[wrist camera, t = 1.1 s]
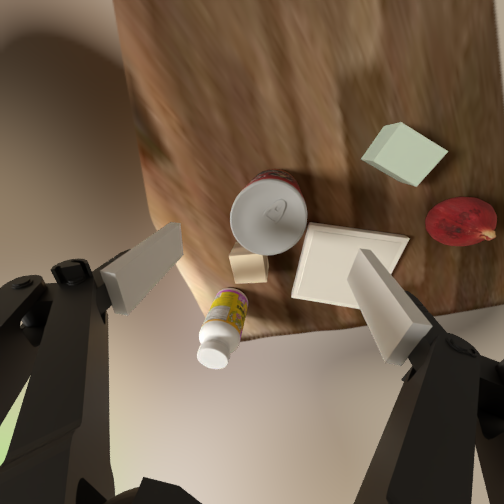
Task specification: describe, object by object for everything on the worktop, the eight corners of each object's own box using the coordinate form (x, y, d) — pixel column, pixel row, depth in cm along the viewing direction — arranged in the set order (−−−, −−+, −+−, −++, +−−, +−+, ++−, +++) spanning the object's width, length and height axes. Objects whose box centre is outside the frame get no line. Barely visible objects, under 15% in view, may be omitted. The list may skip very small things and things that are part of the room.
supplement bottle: (250, 312, 41) (237, 375, 29) (219, 311, 42) (195, 372, 30) (246, 286, 37) (231, 345, 26) (213, 285, 39) (184, 342, 27)
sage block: (383, 125, 24) (401, 122, 20) (424, 150, 24) (448, 151, 21) (360, 159, 26) (372, 161, 22) (398, 181, 26) (416, 186, 23)
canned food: (308, 178, 27) (322, 195, 18) (286, 229, 31) (287, 266, 22) (256, 159, 27) (241, 166, 17) (240, 213, 31) (221, 242, 21)
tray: (309, 222, 30) (310, 225, 29) (405, 235, 29) (410, 238, 28) (291, 293, 37) (291, 298, 36) (369, 306, 36) (372, 311, 35)
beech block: (235, 241, 34) (228, 256, 29) (265, 239, 33) (262, 253, 28) (241, 266, 36) (235, 283, 31) (268, 265, 35) (266, 282, 30)
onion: (405, 230, 29) (445, 257, 22) (422, 190, 26) (474, 205, 19) (449, 233, 28) (505, 262, 21) (472, 192, 25) (544, 209, 18)
